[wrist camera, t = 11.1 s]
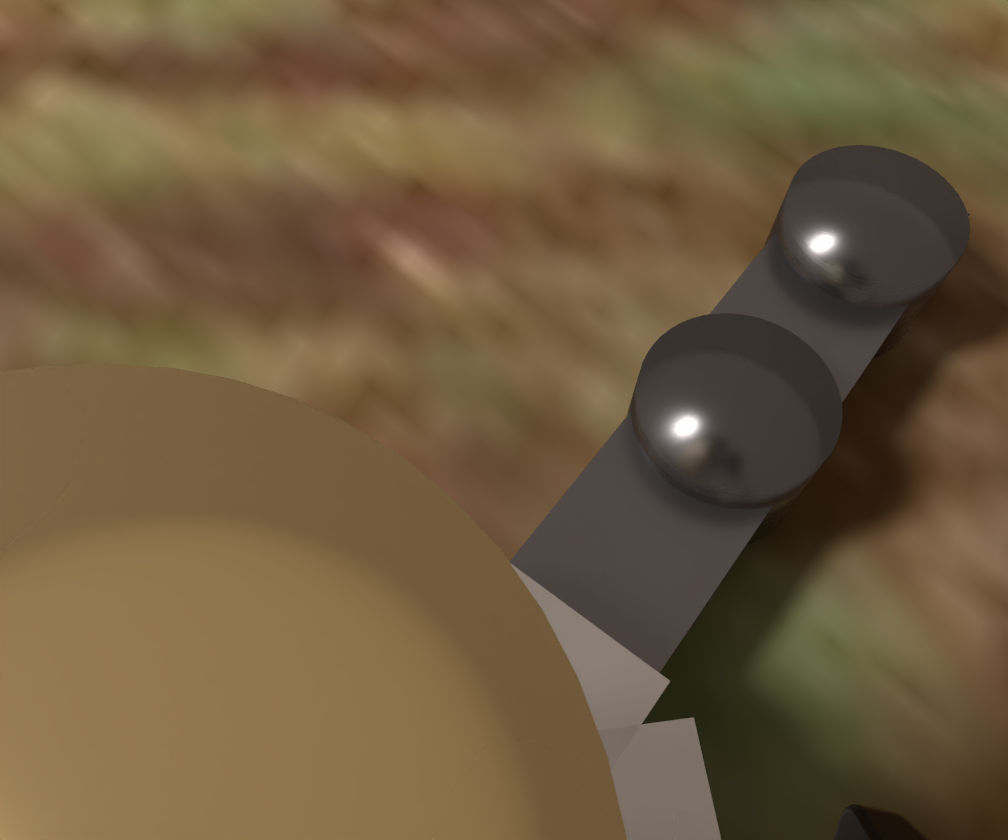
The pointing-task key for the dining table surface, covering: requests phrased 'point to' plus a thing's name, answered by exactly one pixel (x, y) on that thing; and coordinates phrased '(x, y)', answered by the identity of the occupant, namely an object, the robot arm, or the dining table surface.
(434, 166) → the dining table surface
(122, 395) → the brass pin
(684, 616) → the chain joint
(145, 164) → the dining table surface
